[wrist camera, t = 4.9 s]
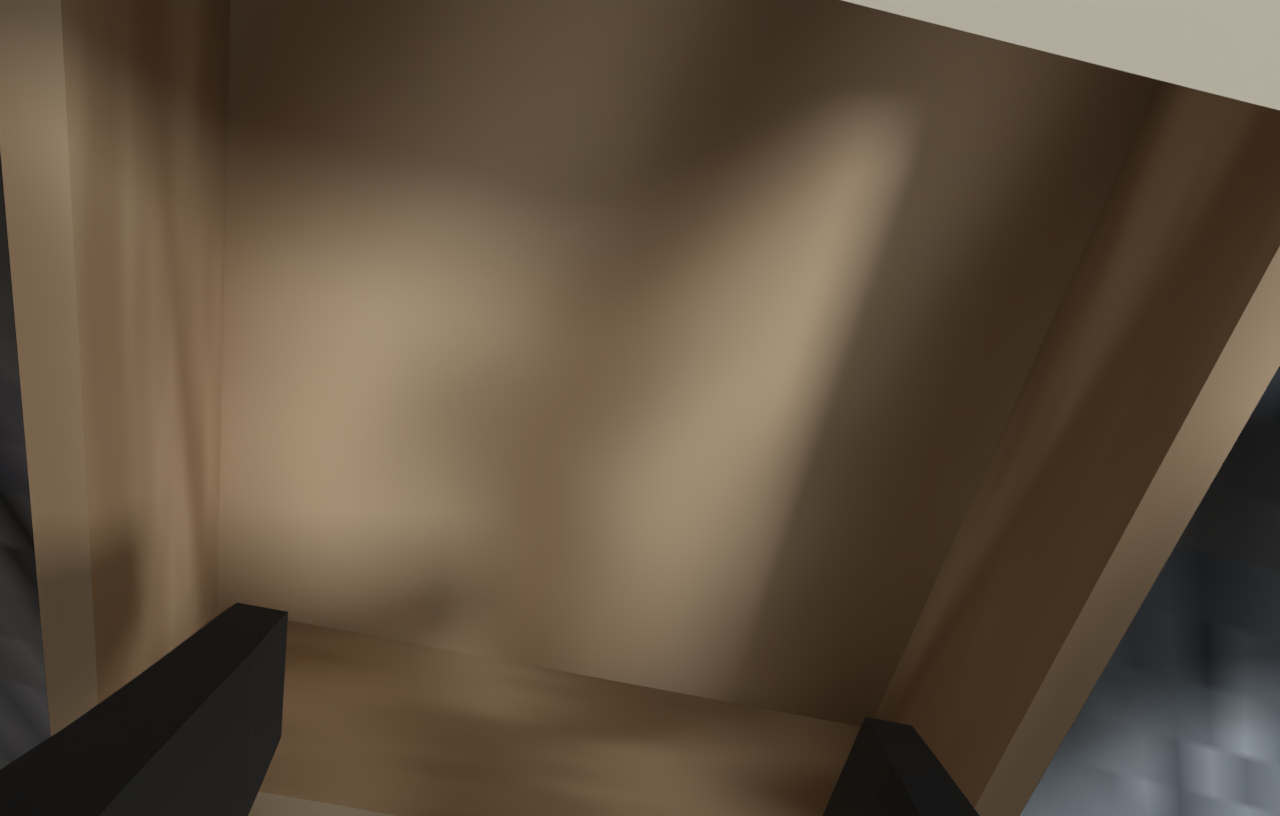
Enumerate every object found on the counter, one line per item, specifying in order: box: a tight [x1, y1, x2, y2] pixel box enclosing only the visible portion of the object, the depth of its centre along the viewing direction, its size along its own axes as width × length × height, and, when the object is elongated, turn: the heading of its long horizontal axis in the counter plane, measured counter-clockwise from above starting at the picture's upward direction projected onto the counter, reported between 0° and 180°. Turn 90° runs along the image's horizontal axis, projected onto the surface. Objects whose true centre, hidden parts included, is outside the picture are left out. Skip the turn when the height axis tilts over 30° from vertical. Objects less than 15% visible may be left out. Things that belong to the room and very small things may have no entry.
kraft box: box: [0, 0, 1280, 816], centre depth 14 cm, size 16×16×5 cm
